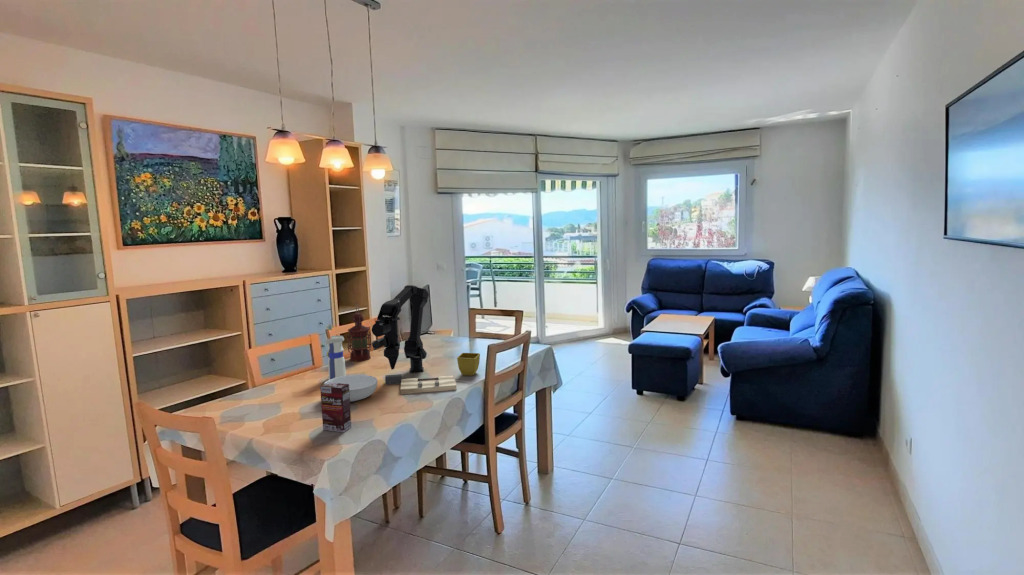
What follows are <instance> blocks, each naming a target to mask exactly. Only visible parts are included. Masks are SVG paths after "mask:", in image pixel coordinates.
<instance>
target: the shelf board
mask: <svg viewBox="0 0 1024 575" xmlns="http://www.w3.org/2000/svg"><path fill="white" fill-rule="evenodd" d="M456 390H457V381H456V378H455V375H444V376H443V375H442V376H437V377H427V378H426V377H425V378H424V377H423V378H418V377H414V378H402V379H401V384H400V395H405V394H407V395H408V394H420V393H430V392H445V391H446V392H447V391H456Z"/></svg>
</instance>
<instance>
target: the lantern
mask: <svg viewBox="0 0 1024 575" xmlns="http://www.w3.org/2000/svg"><path fill="white" fill-rule="evenodd" d="M355 310H356V312H355V313H354V314H353V316H352V319H351V320H352V322H353V323H354V324H355V325H354V326H352V327H350V328H348V329H347V332H348V334H347V335H346V336H347V337H346V340H347V351H348V353H349V354H350V357H349V360H350V361H352V362H363V361H369V360H370V359H371V358H372V357H371V352H370V351H371V349H372V334H371V333H372V332H370V330H371V329H370V327H368V326H365V325H363V322H364V319H365V318H364V316H363V314H362V313H361V312H360V304H359V302H357V301H356V302H355ZM350 350H351V351H350Z"/></svg>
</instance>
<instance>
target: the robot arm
mask: <svg viewBox="0 0 1024 575" xmlns="http://www.w3.org/2000/svg"><path fill="white" fill-rule="evenodd" d="M429 297H430V296H429V291H428V290H427V289H426V288H421V287H418V286H416V285H412V284H411V285H409V284H406V285H405V286H404V287H403V289H402V290H401V291H400V292H399V293H397V295H396V296H394V298H393V299H391V300H386V301H385V302H384V303H382V304H381V306H380V309H379V311H378V315H377V318H376V320H375V322H374V324H373V325H372V326H371V333H372V335H373V336H375V337H378V338H377V339H375V340H373V341H371V345H372V346H371V348H373V350H374V351H376V350H377V351H378V349H380V348H382V347H383V348H384V349H383V357H385V358H387V359H388V363H389V365H390V366H389V367H390V369H391V370H395V369H396V368H395V367H396V364H397V361H398V359H399V355H400V347H401V340H399V328H398V326H399V323H398V321H399V320H400V319H401V318H400V317H399V314H400V313H401V312H402V307H403V306H404V305H405V304H406V303H407V301H408V300H409V302H410V304H411V306H412V312H411V320H410V321H411V322H410V330H409V337H408V338H407V339H405V341H404V347H403V352H404V355H405V359H409V363H410V367H409V373H420V372H421V373H423V372H424V370H425V369H424V366H423V360H424V359H426V358H427V354H428V353H427V351H426V350H425V349H424V343H423V341H422V338H421V334H422V333H421V331H422V322H423V313H424V308H425V306H426V304H427V303H428V298H429ZM382 336H383V337H382ZM379 337H380V338H379Z"/></svg>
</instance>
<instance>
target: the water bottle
mask: <svg viewBox="0 0 1024 575" xmlns="http://www.w3.org/2000/svg"><path fill="white" fill-rule="evenodd" d="M333 327H334V325H331V323H329V324H328V326H326V328H327V331H328V332H329V331H332V330H333ZM344 341H345V338H344V335H331V336H330V338H327V337H326V338H325V344H326V345H328V348H327V352H326V356H327V358H328V359H327V360H328V361H327V362H328V363H327V364H328V365H327V366H328V380H330V379H333V378H336V377H340V376H346V375H347V371H346V362H345V361H346V360H345V357H344V350H345V349H344V347H343V342H344Z"/></svg>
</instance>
